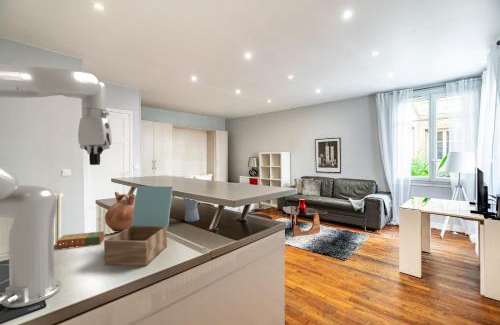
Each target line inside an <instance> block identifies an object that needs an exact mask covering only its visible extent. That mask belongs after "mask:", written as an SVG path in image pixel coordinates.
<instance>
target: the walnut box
mask: <svg viewBox="0 0 500 325" xmlns="http://www.w3.org/2000/svg"><path fill="white" fill-rule="evenodd" d="M167 229H168V227H152V226H131V227H129V228H127V229H125V230H123V231H121V232H117V233H116V234H114V235H113V236H111V237H109V238H106V239H105V240H103V243H104V244H103V246H104V247H103V248H104V252H103V253H104V254H103V256H104V261H103V262H104V266H129V267H130V266H131V267H132V266H134V267H148V266H149V265H150V263H151V262H152V261H154V260H155V259H156V258H157V257H158V256H159V255H160V254H161V253H162V252H163V251H165V249H166V248H167V247H168V242H167V241H168V240H167V238H168V230H167Z"/></svg>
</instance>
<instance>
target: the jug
mask: <svg viewBox="0 0 500 325" xmlns="http://www.w3.org/2000/svg"><path fill="white" fill-rule="evenodd" d="M114 197H115V199H116V200H115V201H116V202H115V203H114V204H112V205H111V206H110V207H109V208H108V209H107V211H106V212H105V214H104V220H105V223H106V225H107V227H109V229H110V230H112V231H113V232H115V233H120V232H121V231H123V230H125V229H127V228H129V227H131V224H132V218H133V212H134V205H135V199H136V194H134V193H130V194H127V193H123V194H121V193H119V192H118V191H115V192H114ZM124 197H125V198H126V200H123V198H124Z"/></svg>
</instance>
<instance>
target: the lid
mask: <svg viewBox="0 0 500 325" xmlns="http://www.w3.org/2000/svg"><path fill="white" fill-rule="evenodd" d="M173 188H174V187H173V186H154V185H153V186H150V185H149V186H148V185H144V186H143V185H141V186H140V185H137V187H136V192H135V193H136V194H135V198H134V203H135V205H134V212H133V218H132V224H131V226H152V227H167V228H168V227H169V223H170V221H169V220H170V213H171V206H172V197H173Z"/></svg>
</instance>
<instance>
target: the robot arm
mask: <svg viewBox="0 0 500 325" xmlns="http://www.w3.org/2000/svg"><path fill="white" fill-rule="evenodd" d="M56 96H63V97H67V98H73V99H74V98H75V99H80V100H81V118H80V119H79V124H78V132H77V134H78V135H77V139H78V144H79V149H82V150H85V151H86V152H87V154H88V156H89V160H88V161H89V165H90V166H99V165H100V164H101V155H102V154H103V152H104V150H108V149H110V147H111V145H112V142H113V141H112V140H113V137H112V129H111V124H110V120H109V119H107V116H109V115H110V114H109V111H107V86H106V84H105V83H104V82H102V81H100V80H98V78H97V77H96V76H95V75H94V74H93V73H91V72H89V71H85V70H80V69H79V70H78V69H71V68H70V69H69V68H56V67H42V66H36V65H35V66H31V65H21V64H19V65H18V64H11V63H0V98H8V99H9V98H14V99H15V98H21V99H22V98H23V99H27V98H28V99H29V98H31V99H32V98H44V97H45V98H46V97H56ZM19 180H20V179H19V178H18V176H17V174H15V173H14V172H13V171H12V170H10V169H9V168H7V167H5V166H3V165H1V164H0V217H1V218H8V219H13V220H12V221H13V222H12V224H11V227H10V229H9V233H8V242H7V244H8V269H9V270H8V273H9V276H8V277H9V286H7V287H5V288H4V289H5V290H4V291H5V292H3V293H2V295H1V296H0V305H2V306H3V307H5V308H14V309H15V308H20V307H21V308H22V307H27V306H29V305H33V304H36V303H40V302H43V301H44V300H47V299H48V298H50V297H52V296H54V295H55V294H56V293H58V292H59V291H60V290H61V288H62V281H61V280H59V279H56V278H55V237H54V236H55V234H54V233H55V232H54V227H55V217H56V212H57V208H58V198H57V195H56V193H55V192H54V191H52V190H50V189H49V188H47V187H44V186H40V185H21V184H20V181H19Z"/></svg>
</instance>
